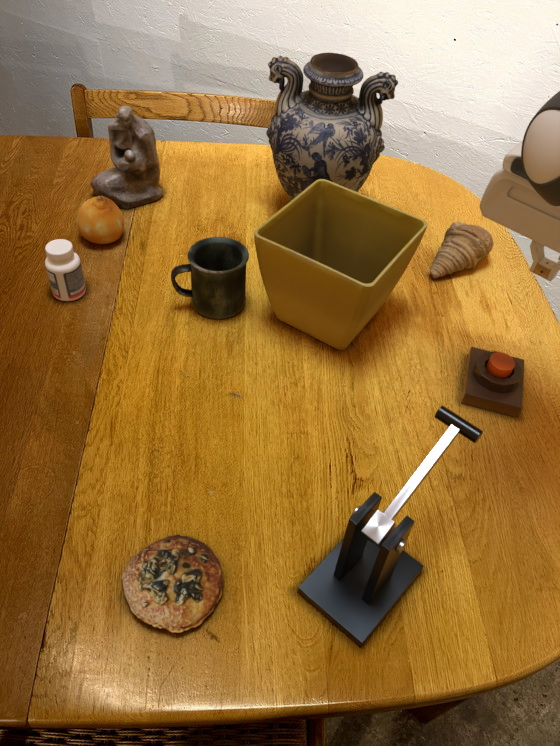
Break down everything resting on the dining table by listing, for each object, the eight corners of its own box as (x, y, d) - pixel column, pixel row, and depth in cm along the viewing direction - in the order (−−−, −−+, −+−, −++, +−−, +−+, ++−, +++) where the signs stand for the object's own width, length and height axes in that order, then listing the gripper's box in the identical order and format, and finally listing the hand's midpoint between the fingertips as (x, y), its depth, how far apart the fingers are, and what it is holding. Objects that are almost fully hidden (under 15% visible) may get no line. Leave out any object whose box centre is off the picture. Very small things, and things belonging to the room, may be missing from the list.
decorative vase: (373, 193, 130) (401, 47, 110) (368, 247, 118) (399, 95, 97) (268, 178, 132) (276, 31, 111) (252, 231, 119) (258, 77, 98)
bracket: (360, 523, 80) (380, 458, 70) (421, 570, 76) (452, 509, 66) (296, 591, 73) (308, 531, 63) (360, 647, 70) (383, 592, 59)
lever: (442, 409, 71) (443, 401, 69) (482, 435, 69) (484, 427, 67) (351, 527, 68) (349, 522, 66) (391, 557, 66) (390, 553, 63)
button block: (516, 417, 93) (526, 399, 90) (461, 403, 94) (468, 384, 91) (519, 369, 99) (528, 351, 96) (467, 356, 101) (474, 337, 98)
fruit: (140, 230, 113) (118, 186, 110) (102, 252, 109) (78, 208, 106) (120, 231, 119) (98, 190, 116) (83, 252, 116) (60, 211, 112)
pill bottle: (89, 282, 107) (80, 237, 100) (82, 303, 103) (73, 258, 97) (56, 280, 106) (45, 235, 100) (48, 301, 103) (36, 256, 96)
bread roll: (219, 533, 77) (217, 517, 73) (228, 631, 71) (227, 619, 67) (124, 545, 76) (117, 530, 72) (125, 645, 70) (117, 635, 66)
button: (510, 381, 93) (514, 372, 91) (485, 374, 93) (488, 366, 92) (511, 363, 95) (515, 355, 94) (487, 357, 95) (490, 349, 94)
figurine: (89, 208, 121) (72, 114, 107) (98, 174, 128) (83, 83, 115) (161, 210, 122) (153, 118, 108) (165, 177, 129) (158, 86, 116)
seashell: (432, 295, 117) (470, 298, 111) (413, 263, 112) (452, 264, 106) (467, 241, 121) (506, 241, 115) (450, 208, 116) (490, 206, 110)
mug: (252, 318, 103) (255, 268, 96) (177, 327, 101) (173, 278, 93) (241, 282, 109) (242, 233, 102) (169, 290, 106) (165, 241, 99)
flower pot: (407, 306, 108) (431, 220, 95) (351, 374, 96) (370, 287, 84) (309, 262, 114) (320, 176, 102) (247, 321, 103) (250, 233, 90)
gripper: (693, 203, 68) (632, 302, 79) (518, 131, 77) (484, 229, 87) (672, 227, 65) (612, 327, 75) (492, 149, 73) (459, 249, 84)
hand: (542, 274), depth 81 cm, fingers closed
